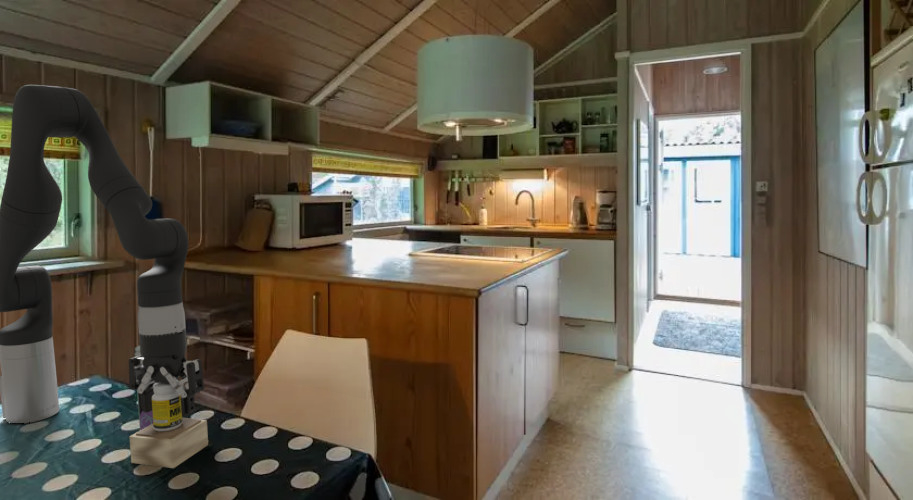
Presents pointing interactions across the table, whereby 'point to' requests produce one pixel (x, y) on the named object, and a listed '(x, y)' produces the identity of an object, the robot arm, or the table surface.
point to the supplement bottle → (166, 407)
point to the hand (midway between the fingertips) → (168, 413)
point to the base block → (168, 443)
